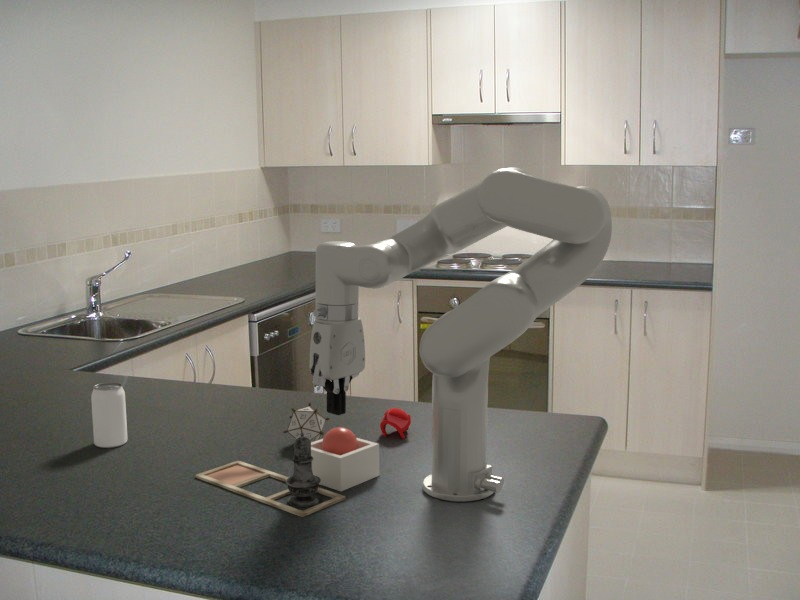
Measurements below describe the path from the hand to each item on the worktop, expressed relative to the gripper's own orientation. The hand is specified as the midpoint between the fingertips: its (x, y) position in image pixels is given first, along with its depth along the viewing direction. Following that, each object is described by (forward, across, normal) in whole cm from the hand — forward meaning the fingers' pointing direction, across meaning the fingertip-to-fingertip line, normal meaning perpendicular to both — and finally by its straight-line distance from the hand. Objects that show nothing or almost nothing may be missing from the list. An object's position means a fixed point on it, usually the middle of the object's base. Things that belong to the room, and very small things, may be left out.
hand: (336, 412), depth 159 cm
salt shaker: (+12, -12, -4) cm, 17 cm away
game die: (+12, +9, +17) cm, 23 cm away
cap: (+12, +25, +7) cm, 29 cm away
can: (+13, -16, +48) cm, 52 cm away
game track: (+12, -12, +5) cm, 18 cm away
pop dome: (+9, 0, -1) cm, 9 cm away
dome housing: (+12, 0, -1) cm, 12 cm away
